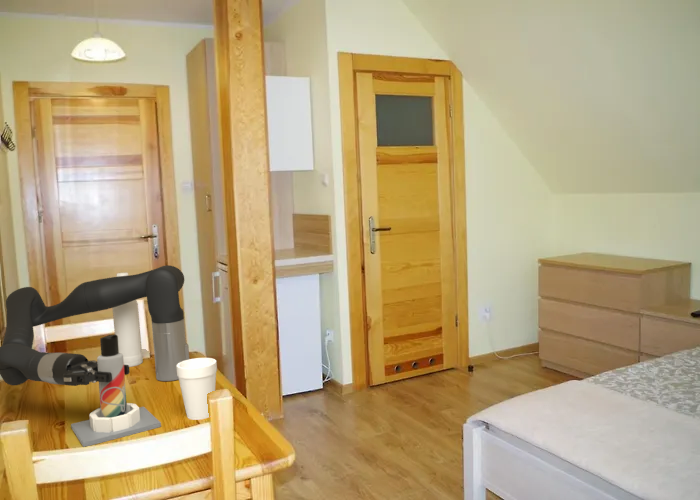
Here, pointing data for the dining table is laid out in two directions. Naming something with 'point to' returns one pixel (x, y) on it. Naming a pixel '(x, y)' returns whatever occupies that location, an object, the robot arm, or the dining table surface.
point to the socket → (114, 425)
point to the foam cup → (197, 385)
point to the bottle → (128, 331)
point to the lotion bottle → (114, 390)
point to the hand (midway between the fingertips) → (119, 373)
